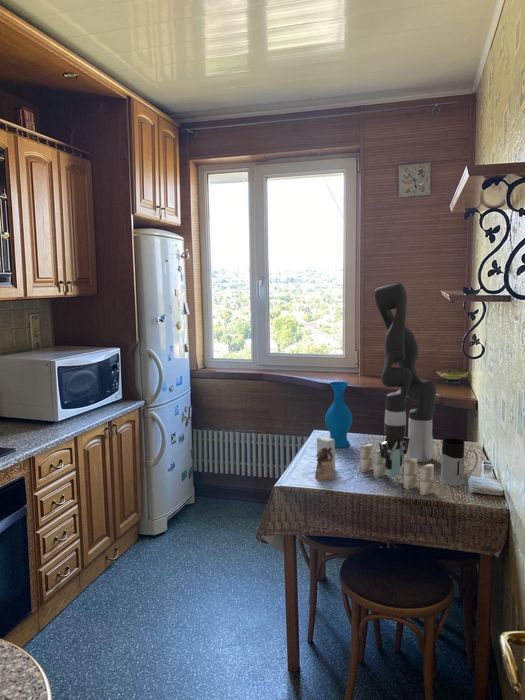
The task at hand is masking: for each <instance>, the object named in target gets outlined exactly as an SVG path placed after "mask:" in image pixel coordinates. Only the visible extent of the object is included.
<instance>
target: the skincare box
mask: <svg viewBox="0 0 525 700" xmlns="http://www.w3.org/2000/svg"><path fill="white" fill-rule="evenodd" d="M324 446H325V447H326V448H327V450H328V449H329V448H330V447H331V448H332V450H331V451H330V452H331V453H332V455H333V458H332V463H333V468H334V470H335V469H336V450H335V449H336V447H335V440H334V439H331V438H330V437H327V436H320V437H317V438H316V452H317V453H316V455H317V454H318V452H319V450H320V449H321V448H322V447H324ZM328 457H329V458H330V459H331V457H330V456H329V455H328ZM316 462H317V463H318V461H317V460H316Z"/></svg>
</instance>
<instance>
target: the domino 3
mask: <svg viewBox="0 0 525 700" xmlns="http://www.w3.org/2000/svg"><path fill="white" fill-rule="evenodd" d="M388 450H389V451H392V450H391V449H388ZM389 455H390V453H389V452H388V456H389ZM400 457H401V454H400V448H399V449H396V450H395V453H394V454H393V456H392V459H391V460H392V469H390V470H389V469H386V475H387V477H390V478H392V477H395V476H398V475H400V474H401V466H400Z"/></svg>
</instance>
